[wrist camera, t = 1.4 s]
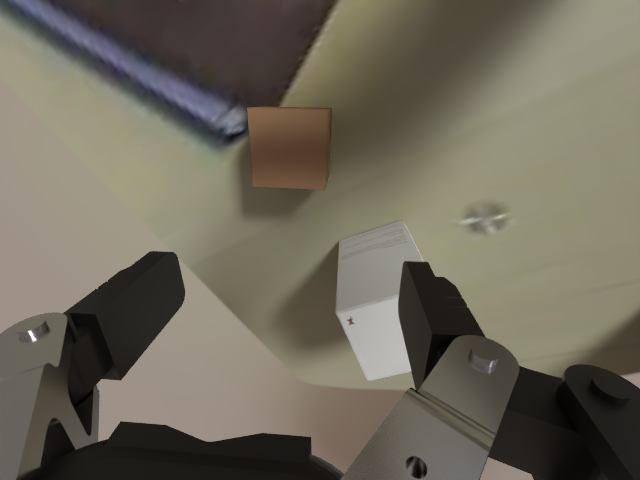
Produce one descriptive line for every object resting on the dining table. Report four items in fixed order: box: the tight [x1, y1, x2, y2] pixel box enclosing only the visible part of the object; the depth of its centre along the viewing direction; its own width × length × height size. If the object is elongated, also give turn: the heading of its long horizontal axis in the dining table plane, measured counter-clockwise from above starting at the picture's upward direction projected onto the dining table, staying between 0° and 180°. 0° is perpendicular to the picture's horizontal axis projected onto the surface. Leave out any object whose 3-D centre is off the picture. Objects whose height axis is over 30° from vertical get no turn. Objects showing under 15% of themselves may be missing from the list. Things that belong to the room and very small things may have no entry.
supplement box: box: [335, 220, 424, 381], centre depth 28 cm, size 7×7×13 cm
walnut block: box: [247, 107, 332, 190], centre depth 26 cm, size 6×6×6 cm
